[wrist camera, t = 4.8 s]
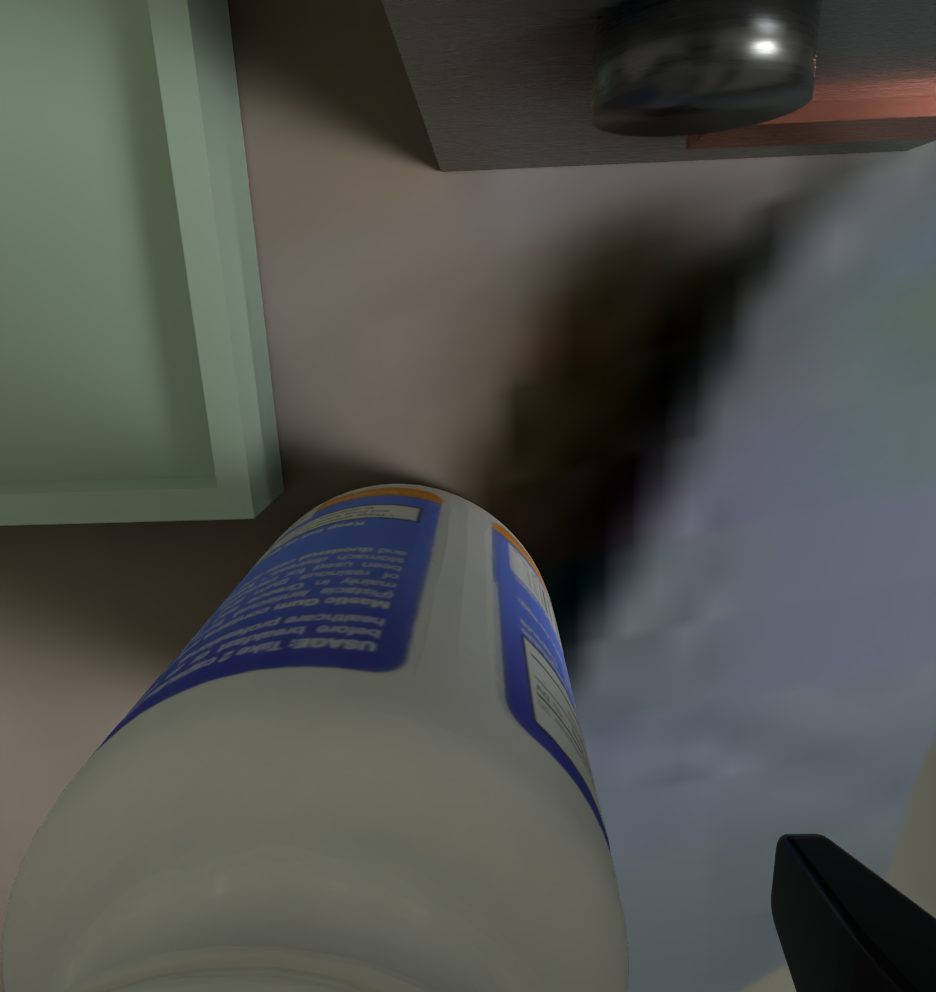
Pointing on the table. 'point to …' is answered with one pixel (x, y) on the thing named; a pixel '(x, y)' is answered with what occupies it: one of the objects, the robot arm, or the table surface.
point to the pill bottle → (340, 786)
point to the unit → (666, 78)
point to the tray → (128, 270)
